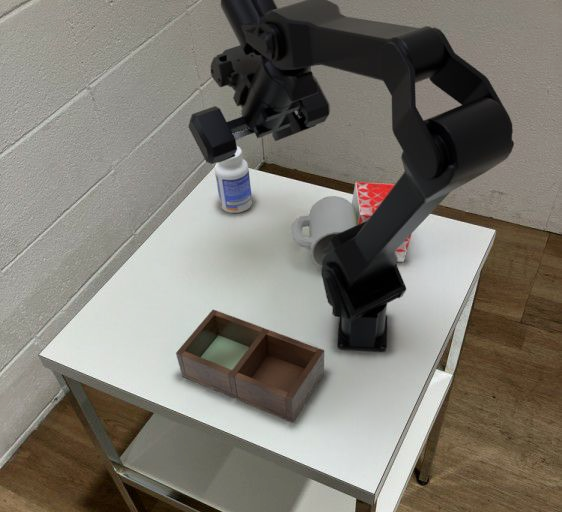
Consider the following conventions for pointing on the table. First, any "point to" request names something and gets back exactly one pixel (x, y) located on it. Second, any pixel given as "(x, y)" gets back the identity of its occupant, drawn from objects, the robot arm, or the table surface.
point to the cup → (323, 225)
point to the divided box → (252, 364)
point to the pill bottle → (234, 183)
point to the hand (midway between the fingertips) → (247, 148)
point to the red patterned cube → (373, 206)
